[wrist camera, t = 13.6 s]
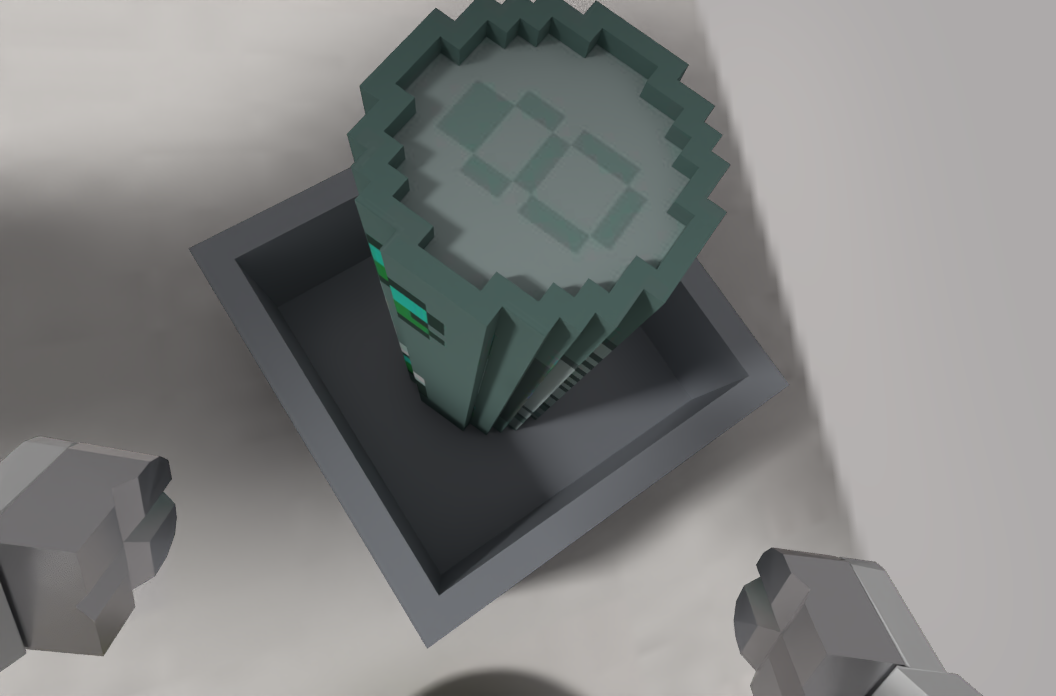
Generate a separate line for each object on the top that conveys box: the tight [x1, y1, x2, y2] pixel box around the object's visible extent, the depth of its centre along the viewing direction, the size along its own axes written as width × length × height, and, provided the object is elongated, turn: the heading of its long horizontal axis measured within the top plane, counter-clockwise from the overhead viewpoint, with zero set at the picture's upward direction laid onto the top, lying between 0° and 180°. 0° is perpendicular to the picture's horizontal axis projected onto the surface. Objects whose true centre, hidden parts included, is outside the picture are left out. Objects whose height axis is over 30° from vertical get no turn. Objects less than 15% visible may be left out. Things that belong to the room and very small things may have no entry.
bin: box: [189, 167, 789, 648], centre depth 23 cm, size 14×14×6 cm
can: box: [347, 0, 730, 435], centre depth 17 cm, size 6×6×15 cm
